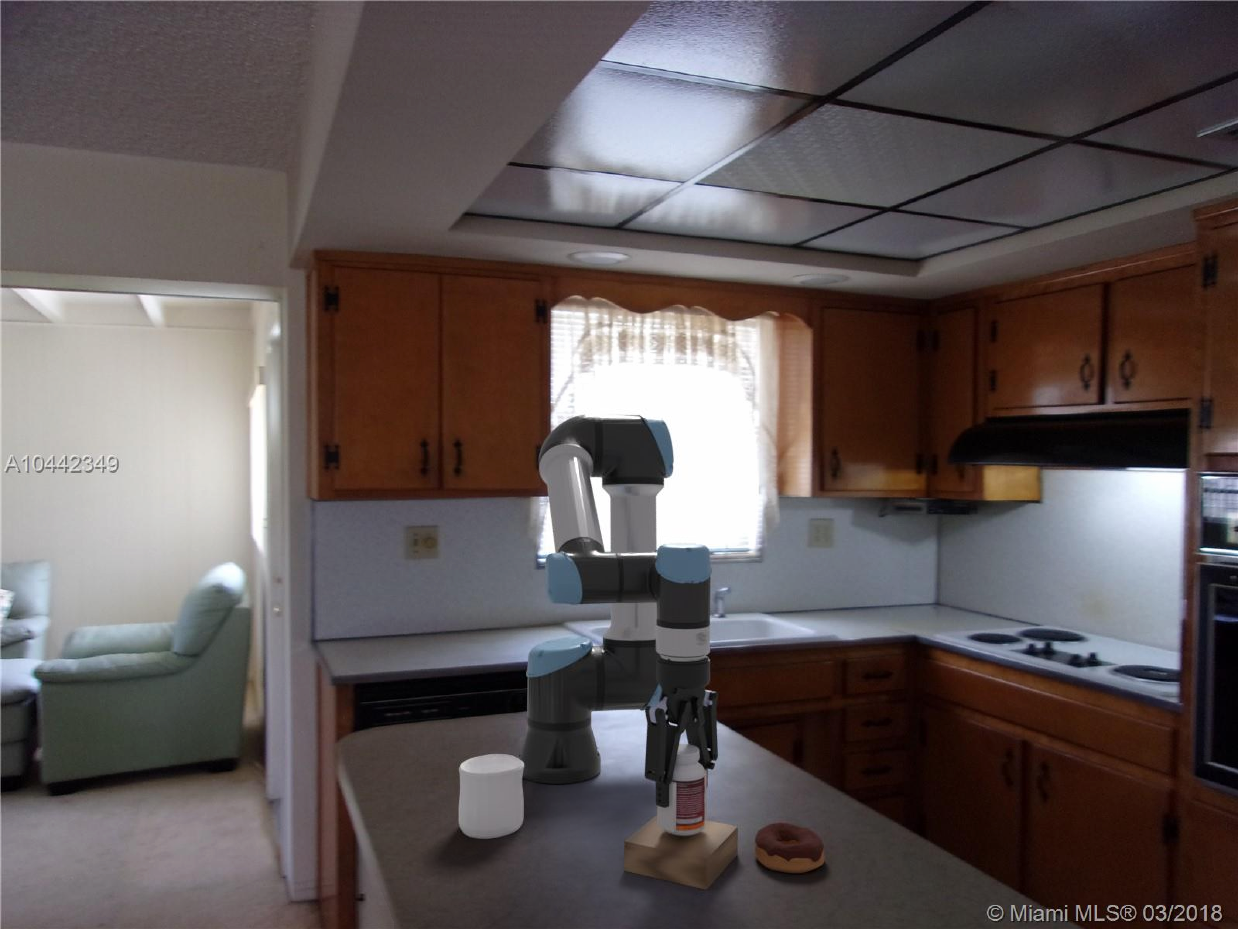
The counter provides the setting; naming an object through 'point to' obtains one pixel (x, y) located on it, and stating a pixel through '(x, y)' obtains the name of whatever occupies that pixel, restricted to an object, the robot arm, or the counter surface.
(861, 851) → the counter surface
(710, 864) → the tan flat block
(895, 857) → the counter surface
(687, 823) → the pill bottle
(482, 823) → the cup
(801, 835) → the donut
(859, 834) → the counter surface
